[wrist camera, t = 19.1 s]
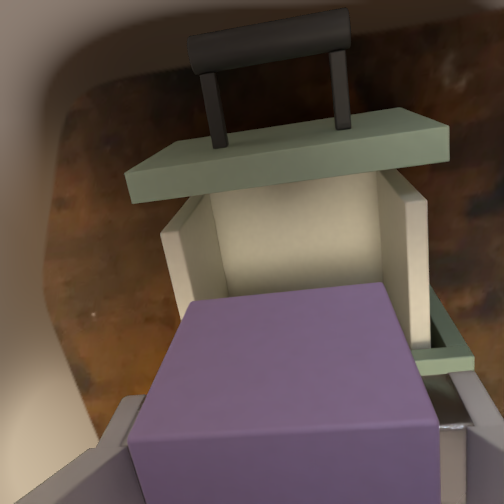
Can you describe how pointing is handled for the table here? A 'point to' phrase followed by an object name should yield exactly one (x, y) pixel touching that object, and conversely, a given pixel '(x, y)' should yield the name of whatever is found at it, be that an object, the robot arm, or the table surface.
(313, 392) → the lavender cube
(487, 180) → the table surface
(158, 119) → the table surface
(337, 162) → the drawer
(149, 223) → the table surface
